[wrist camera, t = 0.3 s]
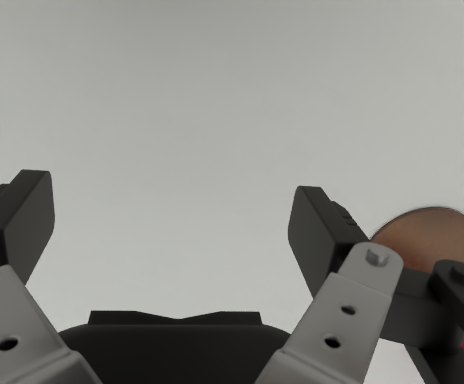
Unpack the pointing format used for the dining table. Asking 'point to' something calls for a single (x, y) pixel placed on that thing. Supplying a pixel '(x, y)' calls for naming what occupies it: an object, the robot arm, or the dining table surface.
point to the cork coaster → (425, 237)
